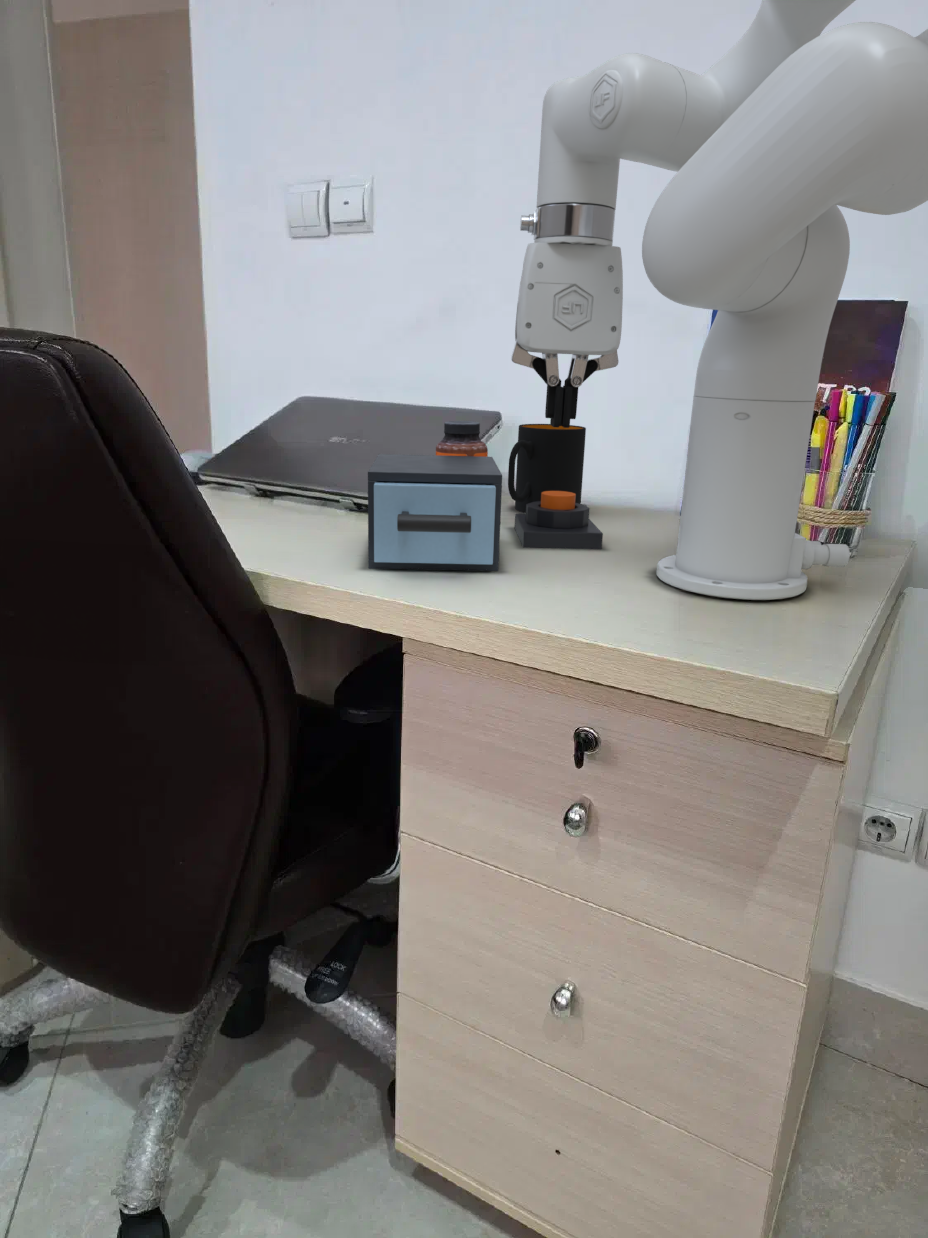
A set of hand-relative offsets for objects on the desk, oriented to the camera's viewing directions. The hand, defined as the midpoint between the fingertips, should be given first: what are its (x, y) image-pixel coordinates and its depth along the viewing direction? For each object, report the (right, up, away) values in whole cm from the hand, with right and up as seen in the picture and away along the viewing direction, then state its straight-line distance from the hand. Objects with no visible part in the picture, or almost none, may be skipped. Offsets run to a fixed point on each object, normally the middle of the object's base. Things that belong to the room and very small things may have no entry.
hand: (559, 425), depth 85 cm
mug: (-1, -7, +18) cm, 20 cm away
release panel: (0, -11, +3) cm, 12 cm away
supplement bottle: (-10, -9, +10) cm, 17 cm away
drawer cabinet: (-13, -13, -5) cm, 19 cm away
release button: (0, -8, +2) cm, 9 cm away
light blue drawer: (-13, -14, -9) cm, 21 cm away
